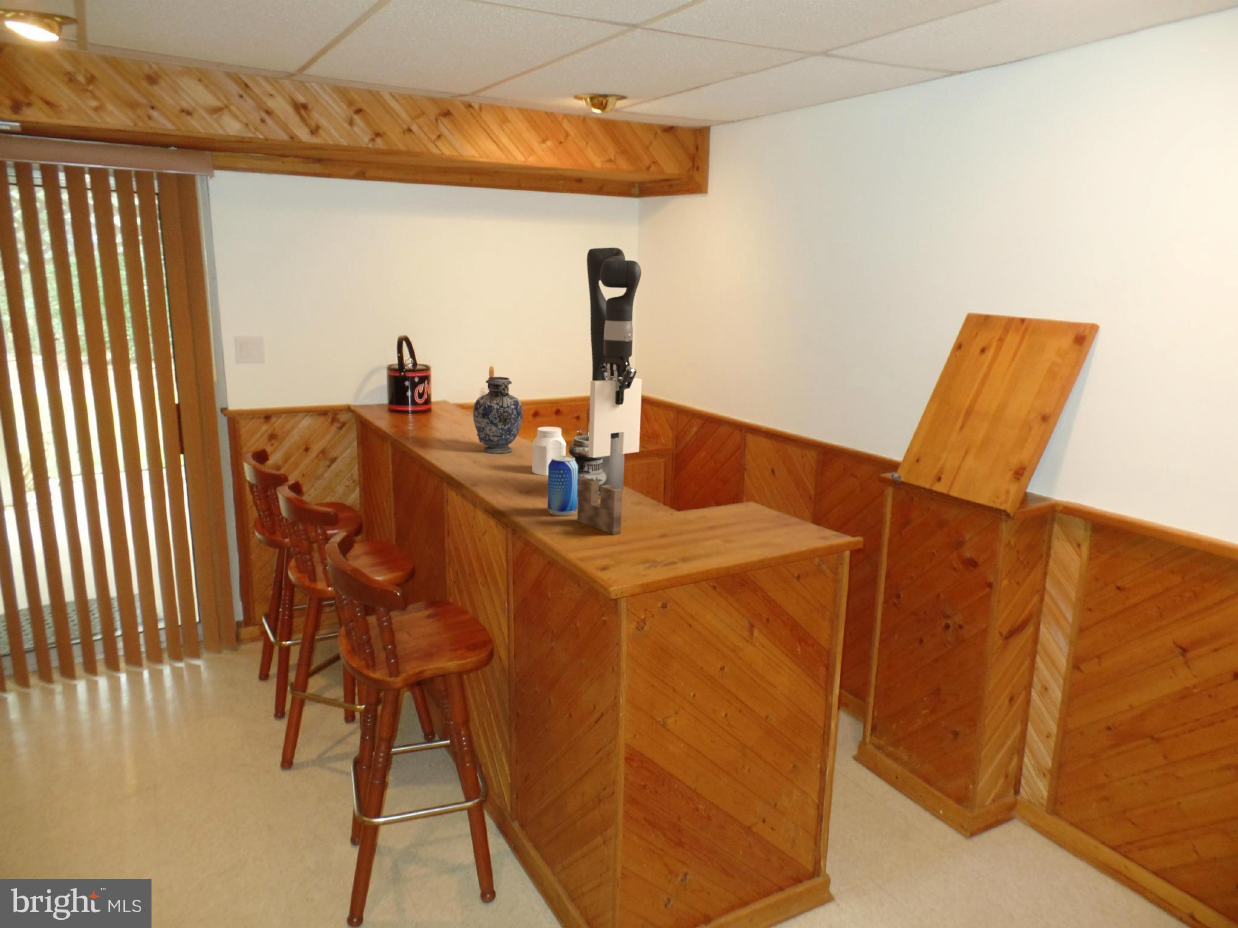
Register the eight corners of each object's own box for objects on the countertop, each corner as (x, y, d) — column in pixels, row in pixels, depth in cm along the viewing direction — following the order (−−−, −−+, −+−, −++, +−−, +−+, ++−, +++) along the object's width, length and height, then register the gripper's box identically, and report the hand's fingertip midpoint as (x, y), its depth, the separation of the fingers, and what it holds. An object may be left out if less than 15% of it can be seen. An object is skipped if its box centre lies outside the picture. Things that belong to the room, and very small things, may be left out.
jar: (557, 467, 299) (558, 425, 296) (570, 473, 291) (570, 430, 288) (527, 470, 293) (528, 427, 290) (539, 476, 285) (539, 432, 282)
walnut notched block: (577, 520, 236) (578, 478, 233) (584, 519, 237) (585, 477, 235) (613, 534, 224) (614, 491, 221) (620, 533, 225) (622, 489, 223)
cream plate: (593, 457, 223) (595, 381, 219) (588, 456, 224) (590, 380, 220) (638, 451, 233) (641, 379, 229) (634, 450, 235) (637, 378, 230)
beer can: (582, 511, 245) (583, 457, 241) (566, 518, 238) (567, 462, 234) (558, 506, 249) (559, 453, 245) (541, 513, 242) (542, 458, 238)
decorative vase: (466, 446, 328) (466, 374, 322) (512, 444, 336) (513, 374, 330) (481, 458, 309) (482, 381, 303) (529, 455, 317) (531, 381, 311)
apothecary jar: (601, 501, 256) (602, 443, 252) (562, 498, 259) (563, 440, 255) (609, 491, 268) (611, 435, 264) (572, 488, 270) (573, 433, 266)
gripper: (590, 336, 225) (589, 401, 229) (624, 340, 215) (621, 408, 218) (612, 336, 230) (610, 399, 233) (646, 340, 220) (643, 406, 223)
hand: (616, 403), depth 226 cm, fingers closed on cream plate, 2 cm apart
